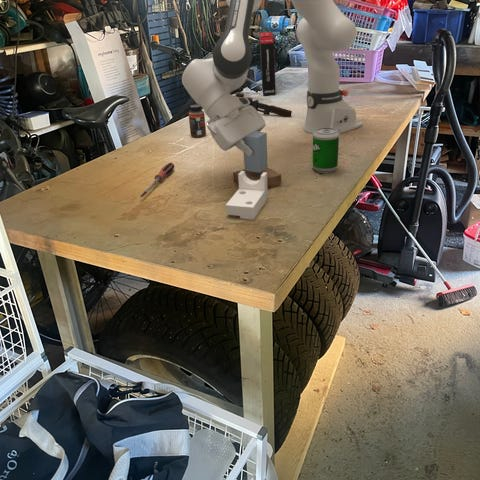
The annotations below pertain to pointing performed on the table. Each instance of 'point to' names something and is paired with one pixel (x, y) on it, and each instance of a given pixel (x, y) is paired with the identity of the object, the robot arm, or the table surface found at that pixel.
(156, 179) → the screwdriver
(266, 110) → the adjustable wrench
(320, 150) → the soda can
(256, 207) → the bracket
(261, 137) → the gray block
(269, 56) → the graphics card box
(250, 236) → the table surface
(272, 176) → the walnut block
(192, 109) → the supplement bottle
